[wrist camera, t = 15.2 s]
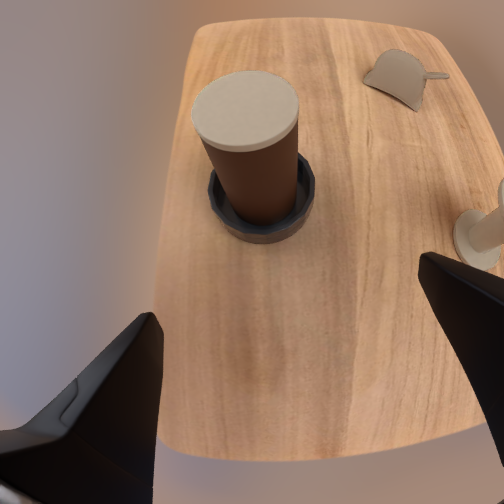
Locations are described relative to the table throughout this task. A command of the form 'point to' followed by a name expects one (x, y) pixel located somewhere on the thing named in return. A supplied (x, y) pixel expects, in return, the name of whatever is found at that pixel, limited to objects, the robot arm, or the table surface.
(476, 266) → the stand
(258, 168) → the brown lidded canister
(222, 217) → the bowl
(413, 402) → the table surface
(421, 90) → the beige curved piece
